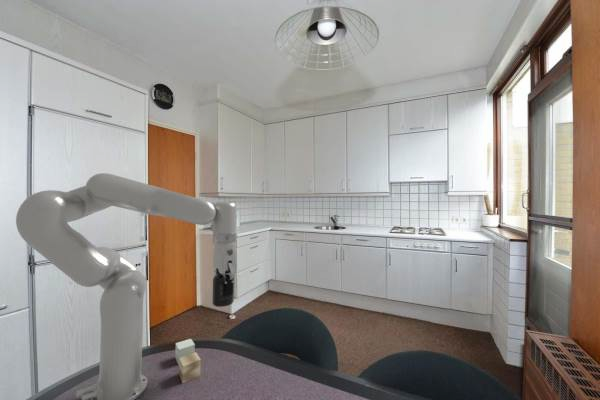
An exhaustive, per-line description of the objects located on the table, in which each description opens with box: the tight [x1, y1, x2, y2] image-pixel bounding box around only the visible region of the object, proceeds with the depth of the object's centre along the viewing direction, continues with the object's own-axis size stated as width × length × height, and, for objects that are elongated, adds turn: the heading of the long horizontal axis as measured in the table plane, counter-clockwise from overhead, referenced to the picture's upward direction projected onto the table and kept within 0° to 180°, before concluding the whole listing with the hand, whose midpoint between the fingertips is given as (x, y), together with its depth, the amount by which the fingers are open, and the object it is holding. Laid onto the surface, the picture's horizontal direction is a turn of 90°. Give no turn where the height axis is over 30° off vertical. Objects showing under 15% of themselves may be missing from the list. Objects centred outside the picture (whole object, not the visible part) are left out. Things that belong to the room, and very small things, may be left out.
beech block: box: [178, 352, 202, 384], centre depth 75 cm, size 5×5×5 cm
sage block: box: [175, 338, 196, 366], centre depth 83 cm, size 5×5×5 cm
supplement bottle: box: [211, 268, 235, 308], centre depth 81 cm, size 7×7×12 cm
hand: (223, 291), depth 81 cm, fingers closed on supplement bottle, 6 cm apart
